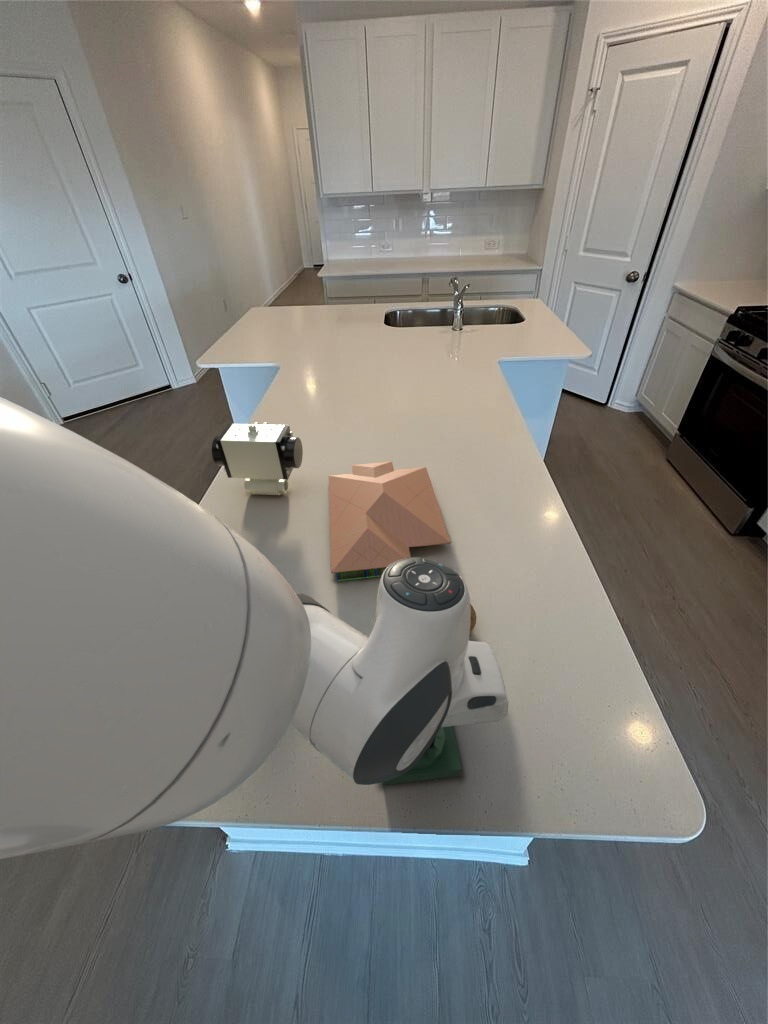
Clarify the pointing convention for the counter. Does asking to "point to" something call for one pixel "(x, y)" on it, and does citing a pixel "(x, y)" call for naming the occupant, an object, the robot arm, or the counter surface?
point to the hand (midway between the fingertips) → (418, 732)
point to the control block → (435, 760)
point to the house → (381, 516)
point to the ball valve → (258, 455)
